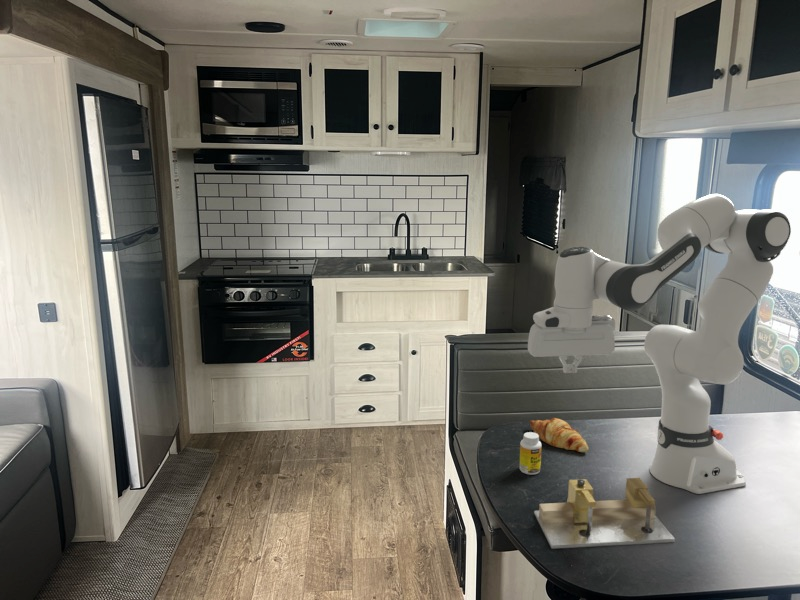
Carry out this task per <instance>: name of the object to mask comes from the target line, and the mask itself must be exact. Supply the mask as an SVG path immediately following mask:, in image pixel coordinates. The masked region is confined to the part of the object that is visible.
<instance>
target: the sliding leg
mask: <svg viewBox="0 0 800 600" xmlns="http://www.w3.org/2000/svg"><path fill="white" fill-rule="evenodd" d="M596 501H597V500H595V498H594V488H593V487H592V485H591V483H590V482H589V481H588V479H587V478H585V479H584V478H583V479H582V478H580V479H569V480H568V493H567V501H566V503H567V502H570V504H571V505H572V507H573V508H574V519H573V521H574V523H582V522H587V532H588V533H591V526H592V515H593V510H592V509H593V507H596Z"/></svg>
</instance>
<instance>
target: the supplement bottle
mask: <svg viewBox="0 0 800 600" xmlns="http://www.w3.org/2000/svg"><path fill="white" fill-rule="evenodd" d="M522 438H523V439H521V441H520V442H519V470H520V471H521V473H523V474H526V475H532V476H533V475H537V474H539V473H540V472H541V468H542V467H541V466H542V442H541V440H540V438H539V435H538V434H536V433H534V431H533V432H532V431H529V432H528V431H527V432H525V433H524V434H523V437H522Z"/></svg>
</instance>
